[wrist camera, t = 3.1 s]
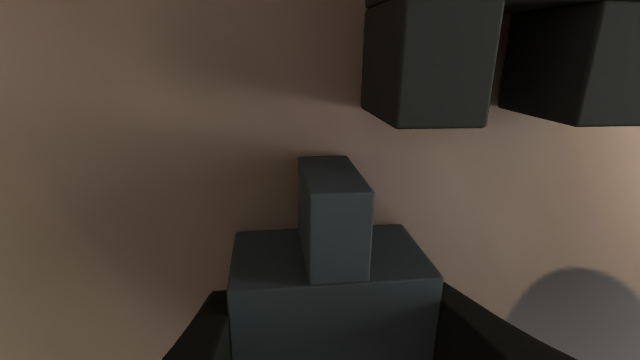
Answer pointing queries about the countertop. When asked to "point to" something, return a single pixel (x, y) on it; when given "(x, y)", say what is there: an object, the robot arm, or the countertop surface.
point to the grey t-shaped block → (332, 279)
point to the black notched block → (520, 64)
